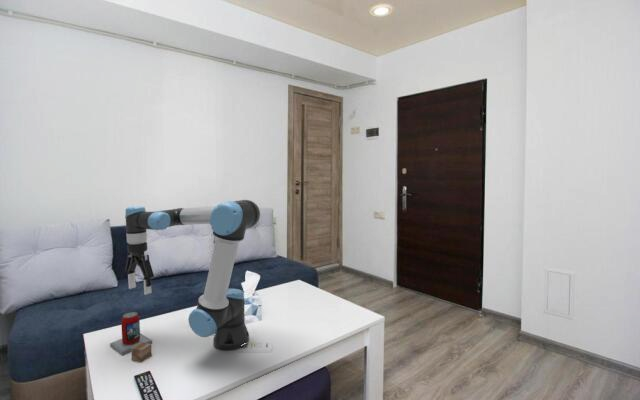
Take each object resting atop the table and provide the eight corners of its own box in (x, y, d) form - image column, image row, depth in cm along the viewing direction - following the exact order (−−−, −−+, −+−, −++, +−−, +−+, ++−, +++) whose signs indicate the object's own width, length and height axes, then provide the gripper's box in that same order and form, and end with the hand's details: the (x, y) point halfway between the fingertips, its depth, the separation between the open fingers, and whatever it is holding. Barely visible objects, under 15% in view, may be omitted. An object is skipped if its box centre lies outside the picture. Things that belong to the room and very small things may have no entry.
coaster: (152, 343, 144) (152, 340, 144) (122, 355, 135) (122, 351, 135) (139, 335, 152) (139, 332, 152) (110, 346, 142) (110, 342, 142)
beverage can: (132, 346, 139) (130, 318, 138) (118, 344, 141) (117, 317, 140) (143, 338, 146) (142, 312, 145) (130, 337, 147) (129, 310, 146)
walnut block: (151, 356, 135) (151, 344, 134) (141, 362, 130) (141, 350, 130) (142, 354, 136) (141, 342, 136) (131, 360, 132) (131, 348, 131)
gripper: (161, 243, 139) (163, 293, 140) (132, 238, 153) (134, 283, 155) (142, 247, 133) (145, 299, 134) (114, 241, 147) (117, 288, 149)
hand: (139, 290), depth 144 cm, fingers open, 13 cm apart
